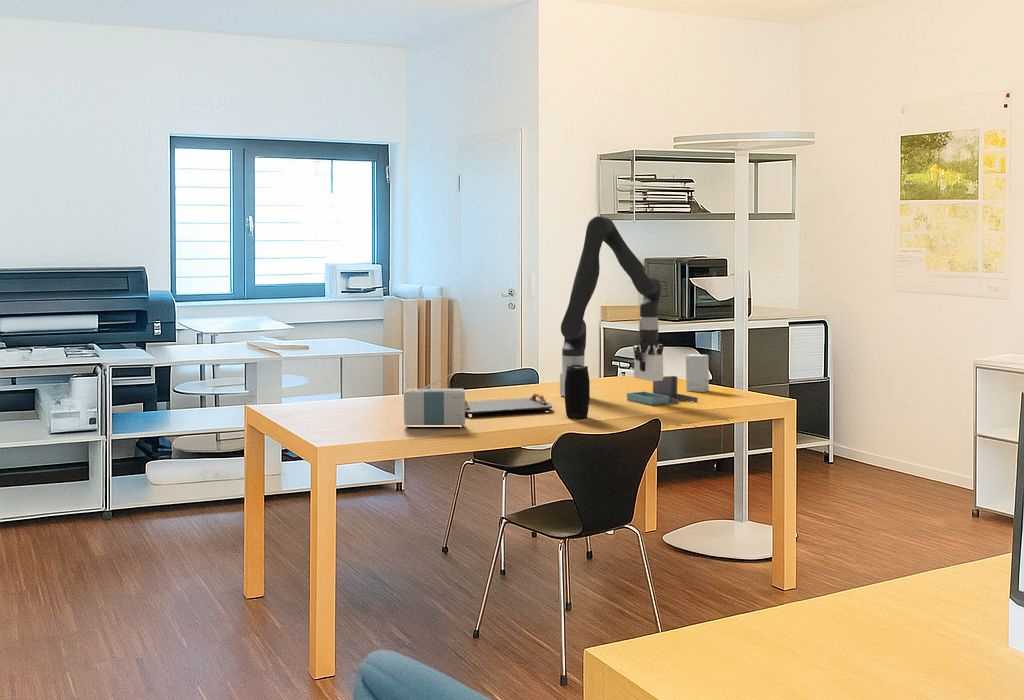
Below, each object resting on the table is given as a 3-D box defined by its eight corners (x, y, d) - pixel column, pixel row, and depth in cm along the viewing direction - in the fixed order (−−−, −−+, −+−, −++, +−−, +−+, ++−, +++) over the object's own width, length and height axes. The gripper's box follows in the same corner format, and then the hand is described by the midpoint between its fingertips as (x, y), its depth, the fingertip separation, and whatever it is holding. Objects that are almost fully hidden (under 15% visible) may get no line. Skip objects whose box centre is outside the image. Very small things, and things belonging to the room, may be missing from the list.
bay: (676, 404, 406) (677, 382, 405) (652, 399, 419) (653, 377, 418) (697, 402, 411) (697, 380, 411) (673, 397, 424) (673, 375, 423)
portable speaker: (593, 418, 377) (594, 366, 375) (573, 420, 372) (573, 367, 370) (580, 414, 384) (580, 363, 382) (560, 416, 379) (560, 365, 377)
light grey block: (652, 381, 405) (653, 352, 404) (634, 377, 415) (634, 350, 414) (662, 380, 408) (663, 352, 407) (643, 376, 418) (644, 349, 417)
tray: (651, 405, 404) (651, 398, 403) (627, 400, 417) (627, 393, 417) (669, 403, 408) (669, 396, 408) (644, 398, 422) (644, 391, 421)
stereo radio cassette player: (403, 429, 355) (403, 372, 353) (406, 425, 364) (405, 368, 361) (464, 429, 355) (464, 371, 353) (465, 425, 364) (465, 368, 361)
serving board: (462, 420, 375) (461, 403, 375) (443, 410, 397) (443, 394, 396) (559, 413, 389) (559, 397, 388) (536, 404, 411) (536, 389, 410)
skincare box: (709, 390, 443) (709, 354, 441) (703, 392, 438) (704, 356, 436) (690, 389, 448) (691, 353, 446) (684, 391, 442) (685, 355, 440)
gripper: (656, 326, 416) (656, 368, 418) (628, 328, 409) (628, 371, 411) (668, 327, 410) (668, 370, 412) (640, 329, 402) (639, 373, 404)
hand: (648, 370), depth 411 cm, fingers closed on light grey block, 5 cm apart
